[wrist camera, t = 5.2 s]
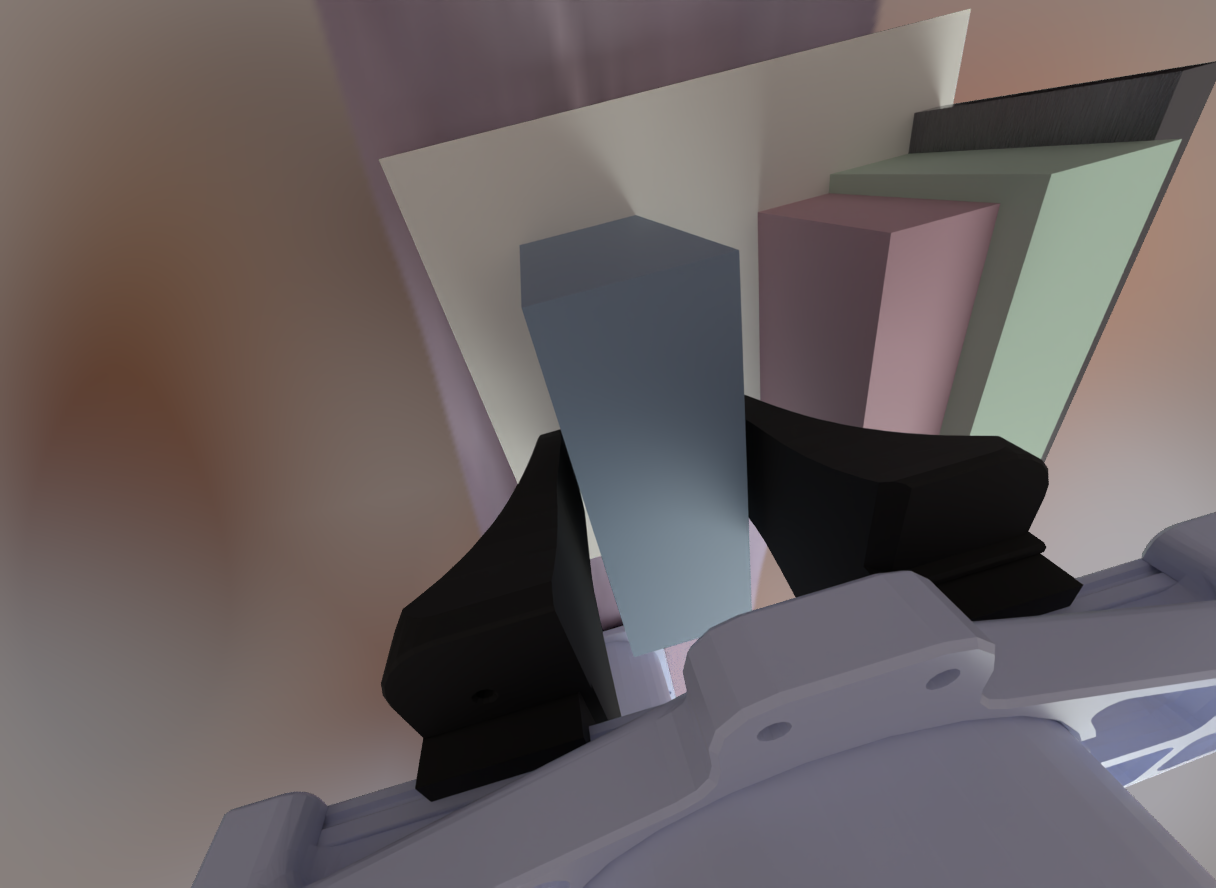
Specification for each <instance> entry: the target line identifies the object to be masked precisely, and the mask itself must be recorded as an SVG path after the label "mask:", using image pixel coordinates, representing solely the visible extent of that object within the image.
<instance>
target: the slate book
mask: <svg viewBox="0 0 1216 888" xmlns="http://www.w3.org/2000/svg"><path fill="white" fill-rule="evenodd" d="M519 246H520V278H521V308H522V311H523V314H524V317H525V320H526V323H527V327H528V330H529V333H530V336H531V339H532V342H533V345H534V348H535V351H536V355H537V358H538V361H539V364H540V367H541V370H542V373H543V376H544V379H545V383H546V386H547V389H548V392H549V395H550V398H551V401H552V404H553V407H554V411H555V414H556V417H557V420H558V423H559V426H560V429H561V432H562V435H563V439H564V442H565V445H566V448H567V451H568V454H569V457H570V460H571V463H572V467H573V470H574V473H575V476H576V479H577V482H578V485H579V488H580V491H581V494H582V498H583V501H584V504H585V507H586V510H587V513H588V516H589V519H590V522H591V526H592V529H593V532H594V535H595V538H596V541H597V544H598V547H599V550H600V554H601V557H602V560H603V563H604V566H605V569H606V572H607V575H608V578H609V582H610V585H611V588H612V591H613V594H614V597H615V600H616V603H617V606H618V610H619V613H620V616H621V619H622V622H623V625H624V628H625V631H626V634H627V638H628V641H629V644H630V647H631V650H632V653H633V656H634V657H637V656H640V655H643V654H647V653H650V652H653V651H657V650H660V649H663V648H667V647H670V646H674V645H677V644H680V643H684V642H687V641H690V640H694V639H697V638H700V637H701V636H702V635H703V634H704V633H705V632H706V631H707V630H708V629H709V628H711V627H713V626H716V625H718V624H720V623H722V622H724V621H726V620H728V619H730V618H733V617H735V616H737V615H740V614H743V613H746V612H750V611H752V605H751V576H750V547H749V518H748V489H747V460H746V431H745V402H744V372H743V343H742V314H741V285H740V256H739V250H738V249H735V248H732V247H729V246H726V245H723V244H720V243H717V242H714V241H711V240H708V239H705V238H702V237H699V236H696V235H693V234H690V233H687V232H684V231H681V230H679V229H676V228H673V227H670V226H667V225H664V224H661V223H658V222H655V221H652V220H649V219H646V218H643V217H640V216H637V215H634V216H630V217H626V218H622V219H619V220H615V221H611V222H607V223H603V224H599V225H595V226H592V227H588V228H584V229H580V230H576V231H572V232H568V233H565V234H561V235H557V236H553V237H549V238H545V239H542V240H538V241H534V242H530V243H526V244H522V245H519Z"/></svg>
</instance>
